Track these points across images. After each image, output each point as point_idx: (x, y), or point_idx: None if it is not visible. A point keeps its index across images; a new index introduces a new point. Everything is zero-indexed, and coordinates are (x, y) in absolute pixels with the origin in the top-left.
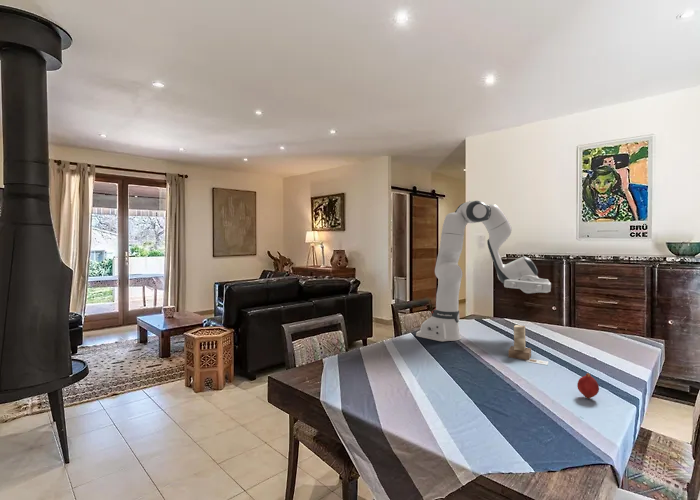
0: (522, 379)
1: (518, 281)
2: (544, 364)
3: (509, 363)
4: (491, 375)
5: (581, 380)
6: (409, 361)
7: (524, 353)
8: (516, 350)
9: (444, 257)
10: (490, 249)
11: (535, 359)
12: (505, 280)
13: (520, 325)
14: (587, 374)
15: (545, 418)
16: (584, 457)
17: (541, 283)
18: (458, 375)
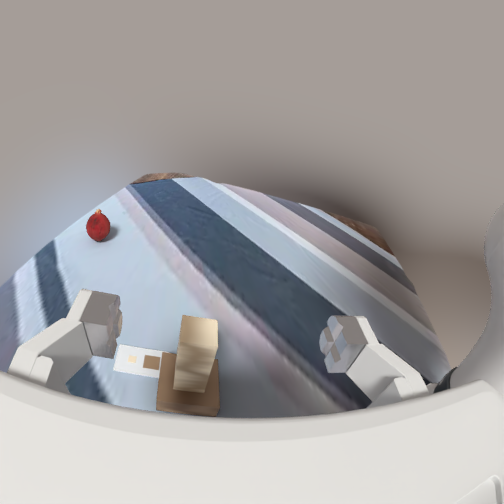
0: (174, 268)
1: (378, 407)
2: (126, 345)
3: None
4: (221, 269)
5: (106, 217)
6: (343, 280)
7: (174, 355)
8: None
9: None
10: None
11: (145, 375)
12: (485, 382)
13: (197, 341)
14: (99, 210)
15: (157, 207)
16: (141, 185)
17: (1, 373)
18: (262, 258)
